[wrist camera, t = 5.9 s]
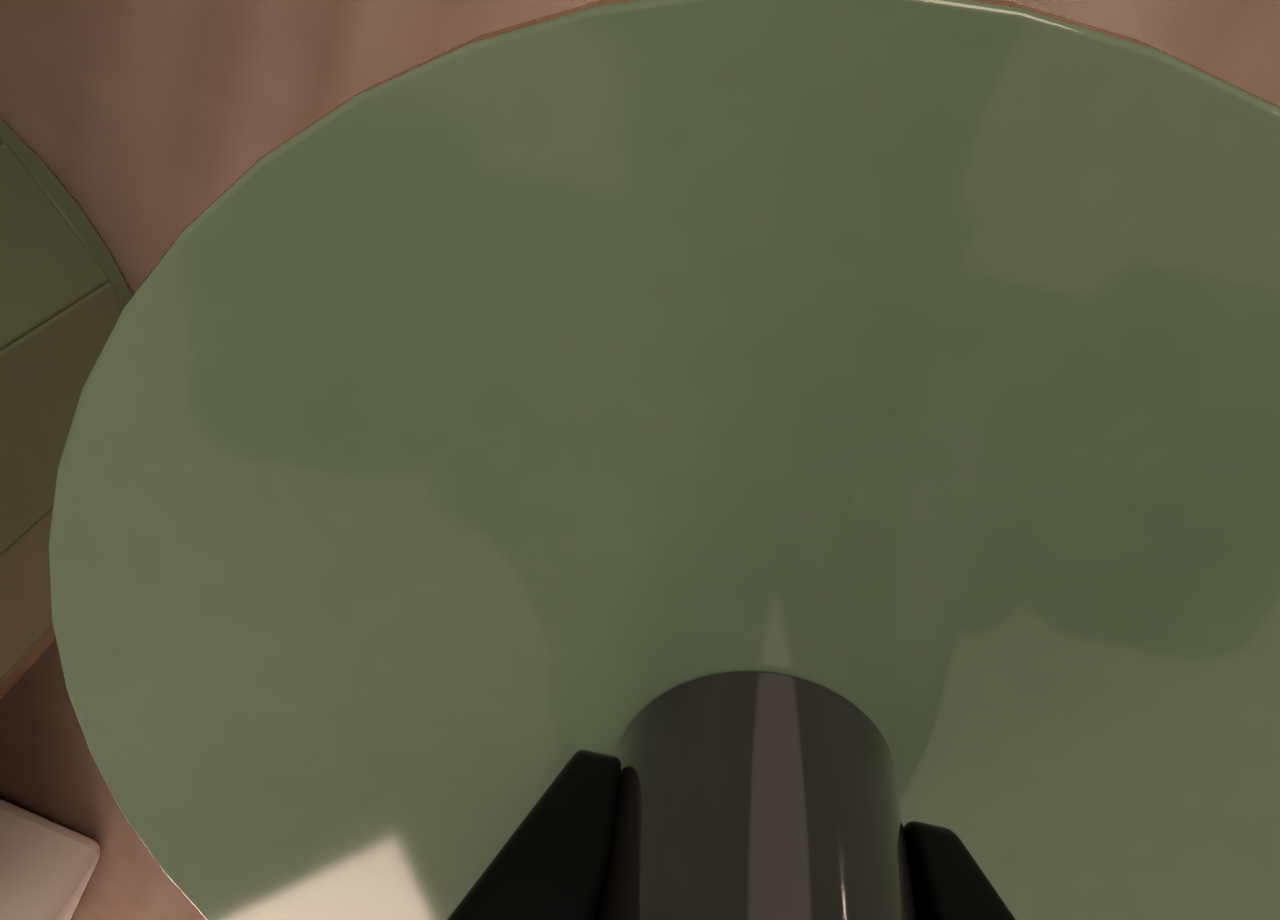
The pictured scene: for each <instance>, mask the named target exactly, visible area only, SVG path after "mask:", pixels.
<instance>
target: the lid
mask: <svg viewBox="0 0 1280 920" xmlns="http://www.w3.org/2000/svg"><path fill="white" fill-rule="evenodd" d="M48 548H49V569H50V590H51V611H52V623H53V627H54V632H55V637H56V642H57V646H58V651H59V656H60V661H61V665H62V670H63V675H64V680H65V684H66V689H67V692H68V695H69V697H70V700H71V703H72V706H73V708H74V711H75V714H76V716H77V719H78V722H79V724H80V727H81V730H82V732H83V735H84V738H85V741H86V743H87V746H88V749H89V751H90V754H91V756H92V758H93V760H94V762H95V764H96V766H97V767H98V769H99V771H100V773H101V775H102V777H103V779H104V780H105V782H106V784H107V786H108V788H109V790H110V792H111V793H112V795H113V797H114V799H115V801H116V803H117V805H118V807H119V808H120V810H121V812H122V814H123V816H124V817H125V819H126V820H127V821H128V823H129V824H130V826H131V827H132V829H133V830H134V831H135V833H136V834H137V836H138V837H139V838H140V840H141V841H142V843H143V844H144V845H145V847H146V848H147V850H148V851H149V853H150V854H151V855H152V857H153V858H154V860H155V861H156V862H157V864H158V865H159V867H160V868H161V869H162V871H163V872H164V873H165V874H166V875H167V877H168V878H169V879H170V880H171V881H172V882H173V883H174V884H175V886H176V887H177V888H178V889H179V890H180V891H181V892H182V893H183V894H184V896H185V897H186V898H187V899H188V900H189V901H190V902H191V903H192V905H193V906H194V907H195V908H196V909H197V910H198V911H199V912H200V913H201V915H202V916H203V917H204V918H205V919H206V920H447V919H448V918H449V917H450V915H451V914H452V913H453V911H454V910H455V909H456V907H457V906H458V905H459V903H460V902H461V901H462V900H463V898H464V897H465V896H466V894H467V893H468V892H469V890H470V889H471V888H472V887H473V885H474V884H475V883H476V881H477V880H478V879H479V877H480V876H481V875H482V873H483V872H484V871H485V870H486V868H487V867H488V866H489V864H490V863H491V862H492V860H493V859H494V858H495V856H496V855H497V854H498V853H499V851H500V850H501V849H502V847H503V846H504V845H505V843H506V842H507V841H508V839H509V838H510V837H511V836H512V834H513V833H514V832H515V830H516V829H517V828H518V826H519V825H520V824H521V822H522V821H523V820H524V819H525V817H526V816H527V815H528V813H529V812H530V811H531V809H532V808H533V807H534V805H535V804H536V803H537V802H538V800H539V799H540V798H541V796H542V795H543V794H544V792H545V791H546V790H547V788H548V787H549V786H550V785H551V783H552V782H553V781H554V779H555V778H556V777H557V775H558V774H559V773H560V772H561V770H562V769H563V768H564V766H565V765H566V764H567V762H568V761H569V760H570V758H571V757H572V756H573V755H574V754H575V753H576V752H577V751H579V750H588V751H593V752H597V753H602V754H606V755H611V756H615V757H617V758H618V759H619V760H620V762H621V773H620V781H619V788H618V795H617V803H616V810H615V817H614V825H613V832H612V839H611V846H610V854H609V860H608V865H607V871H606V876H605V880H604V884H603V887H602V891H601V895H600V899H599V903H598V906H597V910H596V914H595V918H594V920H917V916H916V909H915V903H914V896H913V889H912V882H911V876H910V869H909V862H908V855H907V848H906V842H905V835H904V828H903V827H904V825H906V824H907V823H908V822H910V821H917V822H922V823H926V824H931V825H936V826H940V827H945V828H948V829H950V830H952V831H953V832H954V833H955V834H956V835H957V836H958V837H959V838H960V839H961V841H962V842H963V844H964V845H965V847H966V848H967V850H968V851H969V852H970V854H971V855H972V857H973V858H974V860H975V861H976V863H977V864H978V865H979V867H980V868H981V870H982V871H983V873H984V874H985V876H986V877H987V879H988V880H989V881H990V883H991V884H992V886H993V887H994V889H995V890H996V892H997V893H998V894H999V896H1000V897H1001V899H1002V900H1003V902H1004V903H1005V905H1006V906H1007V907H1008V909H1009V910H1010V912H1011V913H1012V915H1013V916H1014V918H1015V919H1016V920H1280V107H1278V106H1276V105H1274V104H1272V103H1270V102H1268V101H1266V100H1264V99H1262V98H1259V97H1257V96H1255V95H1253V94H1251V93H1249V92H1247V91H1245V90H1243V89H1241V88H1239V87H1236V86H1234V85H1232V84H1230V83H1228V82H1226V81H1224V80H1222V79H1220V78H1218V77H1216V76H1213V75H1211V74H1209V73H1207V72H1205V71H1203V70H1201V69H1199V68H1197V67H1195V66H1192V65H1190V64H1188V63H1186V62H1184V61H1182V60H1180V59H1178V58H1176V57H1174V56H1172V55H1169V54H1167V53H1165V52H1163V51H1161V50H1159V49H1157V48H1155V47H1153V46H1150V45H1148V44H1146V43H1144V42H1141V41H1139V40H1137V39H1134V38H1130V37H1127V36H1124V35H1120V34H1117V33H1114V32H1110V31H1107V30H1104V29H1100V28H1097V27H1094V26H1090V25H1087V24H1084V23H1081V22H1077V21H1074V20H1071V19H1067V18H1064V17H1061V16H1057V15H1054V14H1051V13H1047V12H1044V11H1041V10H1037V9H1034V8H1031V7H1027V6H1024V5H1021V4H1017V3H1014V2H1011V1H1007V0H599V1H596V2H592V3H589V4H586V5H582V6H579V7H575V8H572V9H568V10H565V11H562V12H558V13H555V14H551V15H548V16H545V17H541V18H538V19H534V20H531V21H528V22H524V23H521V24H517V25H514V26H510V27H507V28H504V29H500V30H497V31H493V32H490V33H487V34H483V35H480V36H478V37H476V38H474V39H472V40H470V41H467V42H465V43H463V44H461V45H459V46H457V47H454V48H452V49H450V50H448V51H446V52H444V53H441V54H439V55H437V56H435V57H433V58H431V59H429V60H426V61H424V62H422V63H420V64H418V65H416V66H413V67H411V68H409V69H407V70H405V71H403V72H400V73H398V74H396V75H394V76H392V77H390V78H387V79H385V80H383V81H381V82H379V83H377V84H374V85H372V86H371V87H369V88H367V89H365V90H363V91H362V92H360V93H358V94H356V95H354V96H353V97H351V98H350V99H348V100H347V101H345V102H344V103H342V104H341V105H339V106H338V107H336V108H335V109H333V110H332V111H330V112H329V113H327V114H326V115H324V116H323V117H321V118H320V119H318V120H317V121H315V122H314V123H312V124H311V125H309V126H308V127H306V128H305V129H303V130H302V131H300V132H299V133H297V134H296V135H294V136H293V137H291V138H290V139H288V140H287V141H285V142H284V143H282V144H281V145H279V146H278V147H276V148H275V149H273V150H272V151H270V152H269V153H267V154H266V155H264V156H263V157H261V158H260V159H259V160H258V161H257V162H255V163H254V164H253V165H252V166H251V167H250V168H249V169H248V170H247V171H246V172H245V173H244V174H243V175H242V176H240V177H239V178H238V179H237V180H236V181H235V182H234V183H233V184H232V185H231V186H230V187H229V188H228V189H227V190H225V191H224V192H223V193H222V194H221V195H220V196H219V197H218V198H217V199H216V200H215V201H214V202H213V203H211V204H210V205H209V206H208V207H207V208H206V209H205V210H204V211H203V212H202V213H201V214H200V215H199V216H198V217H196V218H195V219H194V220H193V221H192V222H191V223H190V224H189V225H188V226H187V227H186V228H185V229H184V230H183V231H182V232H181V233H180V234H179V236H178V237H177V238H176V240H175V241H174V242H173V244H172V245H171V246H170V248H169V249H168V250H167V251H166V253H165V254H164V255H163V257H162V258H161V259H160V261H159V262H158V263H157V265H156V266H155V267H154V269H153V270H152V271H151V272H150V274H149V275H148V276H147V278H146V279H145V280H144V282H143V283H142V284H141V286H140V287H139V288H138V290H137V291H136V292H135V293H134V295H133V296H132V297H131V299H130V300H129V301H128V303H127V304H126V305H125V307H124V308H123V310H122V312H121V314H120V316H119V318H118V320H117V322H116V324H115V326H114V328H113V329H112V331H111V333H110V335H109V337H108V339H107V341H106V343H105V345H104V347H103V349H102V351H101V353H100V355H99V357H98V359H97V361H96V362H95V364H94V366H93V368H92V370H91V372H90V374H89V376H88V378H87V380H86V382H85V384H84V386H83V389H82V392H81V395H80V398H79V402H78V405H77V408H76V411H75V415H74V418H73V421H72V424H71V428H70V431H69V434H68V437H67V441H66V444H65V447H64V450H63V454H62V457H61V460H60V463H59V467H58V472H57V480H56V488H55V496H54V505H53V513H52V521H51V529H50V537H49V545H48Z"/></svg>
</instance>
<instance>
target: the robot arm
mask: <svg viewBox="0 0 1280 920" xmlns="http://www.w3.org/2000/svg"><path fill="white" fill-rule="evenodd" d="M620 773H621V762H620V760H619V759H618V758H617V757H615V756H611V755H606V754H602V753H597V752H593V751H588V750H579V751H577V752H576V753H575V754H574V755H573V756H572V757H571V758H570V760H569V761H568V762H567V764H566V765H565V766H564V768H563V769H562V770H561V772H560V773H559V774H558V775H557V777H556V778H555V779H554V781H553V782H552V783H551V785H550V786H549V787H548V788H547V790H546V791H545V792H544V794H543V795H542V796H541V798H540V799H539V800H538V802H537V803H536V804H535V805H534V807H533V808H532V809H531V811H530V812H529V813H528V815H527V816H526V817H525V819H524V820H523V821H522V822H521V824H520V825H519V826H518V828H517V829H516V830H515V832H514V833H513V834H512V836H511V837H510V838H509V839H508V841H507V842H506V843H505V845H504V846H503V847H502V849H501V850H500V851H499V853H498V854H497V855H496V856H495V858H494V859H493V860H492V862H491V863H490V864H489V866H488V867H487V868H486V870H485V871H484V872H483V873H482V875H481V876H480V877H479V879H478V880H477V881H476V883H475V884H474V885H473V887H472V888H471V889H470V890H469V892H468V893H467V894H466V896H465V897H464V898H463V900H462V901H461V902H460V903H459V905H458V906H457V907H456V909H455V910H454V911H453V913H452V914H451V915H450V917H449V918H448V919H447V920H594V918H595V914H596V910H597V906H598V903H599V899H600V895H601V891H602V887H603V884H604V880H605V876H606V871H607V865H608V860H609V854H610V846H611V839H612V832H613V825H614V817H615V810H616V803H617V795H618V788H619V781H620ZM903 828H904V835H905V842H906V848H907V855H908V862H909V869H910V876H911V882H912V889H913V896H914V903H915V909H916V916H917V920H1016V919H1015V918H1014V916H1013V915H1012V913H1011V912H1010V910H1009V909H1008V907H1007V906H1006V905H1005V903H1004V902H1003V900H1002V899H1001V897H1000V896H999V894H998V893H997V892H996V890H995V889H994V887H993V886H992V884H991V883H990V881H989V880H988V879H987V877H986V876H985V874H984V873H983V871H982V870H981V868H980V867H979V865H978V864H977V863H976V861H975V860H974V858H973V857H972V855H971V854H970V852H969V851H968V850H967V848H966V847H965V845H964V844H963V842H962V841H961V839H960V838H959V837H958V836H957V835H956V834H955V833H954V832H953V831H952V830H950V829H948V828H945V827H940V826H936V825H931V824H926V823H922V822H917V821H910V822H908V823H907V824H906V825H904V827H903Z"/></svg>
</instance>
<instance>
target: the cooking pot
mask: <svg viewBox="0 0 1280 920" xmlns="http://www.w3.org/2000/svg"><path fill="white" fill-rule="evenodd" d="M132 296H133V295H132V293H131V291H130V289H129V287H128V285H127V284H126V282H125V280H124V278H123V276H122V274H121V272H120V270H119V268H118V267H117V265H116V263H115V261H114V259H113V257H112V255H111V253H110V251H109V250H108V248H107V247H106V245H105V244H104V242H103V241H102V239H101V238H100V236H99V235H98V233H97V232H96V230H95V229H94V227H93V226H92V224H91V223H90V221H89V220H88V218H87V217H86V215H85V214H84V212H83V211H82V209H81V208H80V206H79V205H78V203H77V202H76V201H75V200H74V199H73V197H72V196H71V195H70V194H69V192H68V191H67V190H66V189H65V188H64V186H63V185H62V184H61V183H60V181H59V180H58V179H57V178H56V177H55V175H54V174H53V173H52V172H51V171H50V169H49V168H48V167H47V166H46V164H45V163H44V162H43V161H42V160H41V159H40V158H39V157H38V156H37V155H36V154H35V153H34V152H33V151H32V150H31V149H30V148H29V147H28V146H27V145H26V144H25V142H24V141H23V140H22V139H21V138H20V137H19V136H18V135H17V134H16V133H15V132H14V131H13V130H12V129H11V128H10V127H9V126H8V125H7V124H6V123H5V122H4V121H3V120H2V119H1V118H0V699H1V698H2V697H3V696H4V695H5V693H6V692H7V691H8V690H9V689H10V688H11V687H12V686H13V685H14V684H15V683H16V681H17V680H18V679H19V678H20V677H21V676H22V675H23V674H24V673H25V672H26V671H27V669H28V668H29V667H30V666H31V665H32V664H33V663H34V662H35V661H36V660H37V659H38V657H39V656H40V655H41V654H42V653H43V652H44V651H45V650H46V649H47V648H48V647H49V645H50V644H51V643H52V642H53V641H54V640H55V639H56V637H55V632H54V627H53V623H52V611H51V590H50V569H49V548H48V545H49V537H50V529H51V521H52V513H53V505H54V496H55V488H56V480H57V472H58V467H59V463H60V460H61V457H62V454H63V450H64V447H65V444H66V441H67V437H68V434H69V431H70V428H71V424H72V421H73V418H74V415H75V411H76V408H77V405H78V402H79V398H80V395H81V392H82V389H83V386H84V384H85V382H86V380H87V378H88V376H89V374H90V372H91V370H92V368H93V366H94V364H95V362H96V361H97V359H98V357H99V355H100V353H101V351H102V349H103V347H104V345H105V343H106V341H107V339H108V337H109V335H110V333H111V331H112V329H113V328H114V326H115V324H116V322H117V320H118V318H119V316H120V314H121V312H122V310H123V308H124V307H125V305H126V304H127V303H128V301H129V300H130V299H131V297H132Z"/></svg>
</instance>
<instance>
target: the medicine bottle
mask: <svg viewBox="0 0 1280 920" xmlns="http://www.w3.org/2000/svg"><path fill="white" fill-rule="evenodd" d="M100 854H101V849H100V847H99V845H98V843H97V842H96V841H95V840H93V839H91V838H89V837H86V836H84V835H82V834H80V833H77V832H75V831H73V830H70V829H68V828H66V827H64V826H61V825H59V824H57V823H54V822H52V821H50V820H48V819H45V818H43V817H41V816H38V815H36V814H34V813H32V812H29V811H27V810H25V809H22V808H20V807H18V806H16V805H13V804H11V803H9V802H6V801H4V800H2V799H0V920H71V918H72V916H73V914H74V911H75V909H76V907H77V905H78V903H79V901H80V899H81V897H82V894H83V892H84V890H85V888H86V886H87V884H88V882H89V879H90V877H91V875H92V873H93V871H94V869H95V867H96V865H97V862H98V860H99V857H100Z"/></svg>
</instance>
